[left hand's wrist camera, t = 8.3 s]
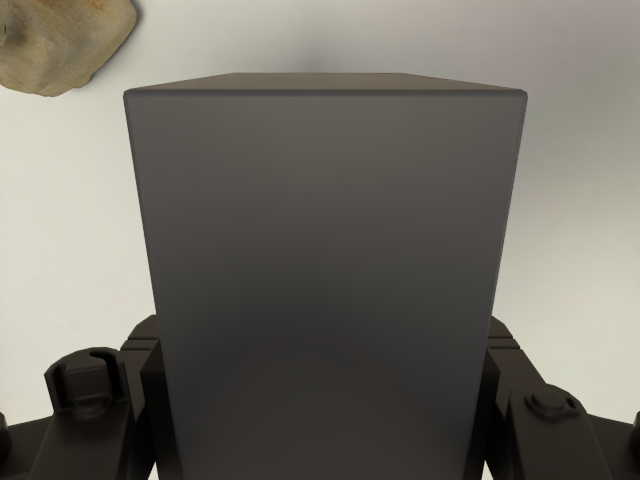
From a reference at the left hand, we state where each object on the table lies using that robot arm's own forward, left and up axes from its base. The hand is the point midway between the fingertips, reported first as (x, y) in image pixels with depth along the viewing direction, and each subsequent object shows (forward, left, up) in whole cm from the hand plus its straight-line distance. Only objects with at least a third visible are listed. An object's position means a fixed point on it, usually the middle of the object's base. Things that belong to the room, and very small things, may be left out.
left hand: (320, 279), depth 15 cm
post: (-3, +30, -1) cm, 30 cm away
